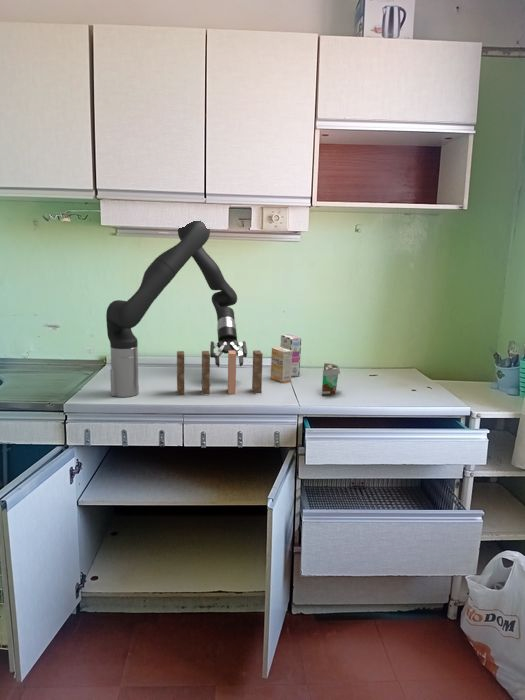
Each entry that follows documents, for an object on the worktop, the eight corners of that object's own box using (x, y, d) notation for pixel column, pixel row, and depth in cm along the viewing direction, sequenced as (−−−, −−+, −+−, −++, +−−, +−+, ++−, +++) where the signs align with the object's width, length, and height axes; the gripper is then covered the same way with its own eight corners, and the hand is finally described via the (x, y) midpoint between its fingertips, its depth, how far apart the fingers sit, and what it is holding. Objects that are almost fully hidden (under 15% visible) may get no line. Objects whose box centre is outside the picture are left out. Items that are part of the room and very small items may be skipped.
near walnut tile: (177, 395, 176) (177, 354, 173) (177, 391, 181) (176, 351, 178) (184, 395, 176) (184, 354, 173) (184, 390, 182) (183, 351, 179)
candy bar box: (300, 376, 207) (301, 338, 204) (289, 377, 205) (290, 338, 202) (289, 370, 217) (290, 333, 214) (278, 371, 215) (280, 334, 212)
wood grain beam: (254, 393, 181) (255, 353, 178) (252, 389, 186) (253, 350, 183) (261, 393, 181) (262, 353, 178) (258, 389, 187) (259, 350, 184)
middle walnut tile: (202, 395, 177) (202, 354, 174) (201, 390, 183) (201, 350, 180) (209, 394, 178) (209, 354, 175) (208, 390, 183) (208, 350, 181)
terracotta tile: (228, 394, 179) (229, 353, 176) (227, 389, 185) (228, 350, 182) (235, 394, 180) (236, 353, 177) (234, 389, 185) (235, 350, 182)
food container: (338, 398, 179) (340, 371, 177) (321, 396, 179) (323, 370, 177) (338, 388, 190) (340, 363, 188) (322, 387, 191) (324, 362, 189)
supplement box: (269, 378, 202) (270, 347, 200) (279, 377, 205) (280, 346, 203) (282, 383, 196) (283, 351, 193) (291, 381, 199) (293, 350, 196)
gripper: (209, 325, 192) (211, 360, 183) (245, 325, 195) (249, 360, 186) (208, 336, 198) (210, 371, 189) (243, 336, 201) (247, 370, 192)
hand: (229, 365), depth 188 cm, fingers open, 8 cm apart
